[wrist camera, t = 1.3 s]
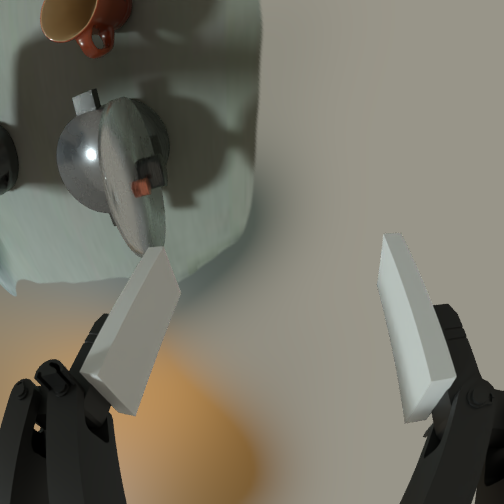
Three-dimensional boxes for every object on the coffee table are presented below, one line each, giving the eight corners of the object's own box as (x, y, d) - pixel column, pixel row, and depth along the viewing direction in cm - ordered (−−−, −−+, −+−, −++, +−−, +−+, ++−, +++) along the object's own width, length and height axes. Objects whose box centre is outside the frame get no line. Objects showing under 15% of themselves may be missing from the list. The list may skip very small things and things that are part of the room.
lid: (145, 294, 24) (180, 287, 25) (78, 114, 16) (120, 99, 16) (163, 210, 37) (186, 204, 37) (130, 92, 28) (156, 85, 29)
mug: (80, 4, 27) (33, 3, 19) (129, -28, 25) (87, -41, 16) (104, 67, 34) (59, 78, 25) (156, 38, 31) (117, 38, 23)
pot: (108, 206, 47) (83, 232, 41) (74, 99, 36) (40, 112, 30) (190, 195, 45) (172, 223, 38) (160, 68, 34) (132, 74, 27)
